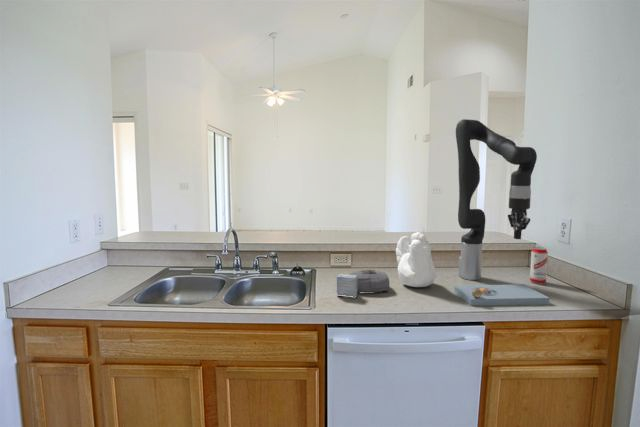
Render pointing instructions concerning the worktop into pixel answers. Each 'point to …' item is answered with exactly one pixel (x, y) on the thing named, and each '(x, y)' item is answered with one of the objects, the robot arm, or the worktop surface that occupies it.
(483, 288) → the ball
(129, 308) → the worktop surface
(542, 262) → the beer can
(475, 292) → the cork ball
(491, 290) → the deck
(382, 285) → the grey rounded bag
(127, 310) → the worktop surface
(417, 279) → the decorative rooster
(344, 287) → the medicine box
